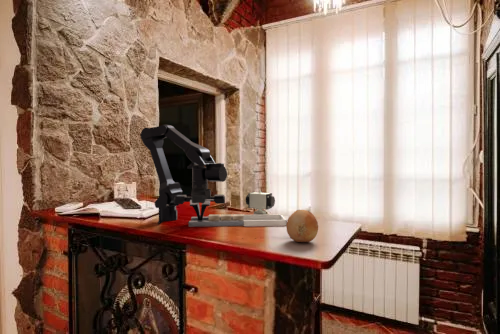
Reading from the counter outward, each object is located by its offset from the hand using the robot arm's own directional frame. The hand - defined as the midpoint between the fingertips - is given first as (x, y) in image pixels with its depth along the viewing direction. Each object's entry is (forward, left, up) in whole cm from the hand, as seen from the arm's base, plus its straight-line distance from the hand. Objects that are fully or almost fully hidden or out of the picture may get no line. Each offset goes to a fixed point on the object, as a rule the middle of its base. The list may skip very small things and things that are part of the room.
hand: (200, 222), depth 117 cm
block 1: (+5, 0, -1) cm, 5 cm away
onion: (+33, -24, -2) cm, 41 cm away
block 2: (+10, 0, -1) cm, 10 cm away
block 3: (+14, 0, -1) cm, 14 cm away
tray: (+24, 0, -2) cm, 24 cm away
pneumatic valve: (+24, +12, -2) cm, 27 cm away
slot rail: (+6, 0, -2) cm, 6 cm away
